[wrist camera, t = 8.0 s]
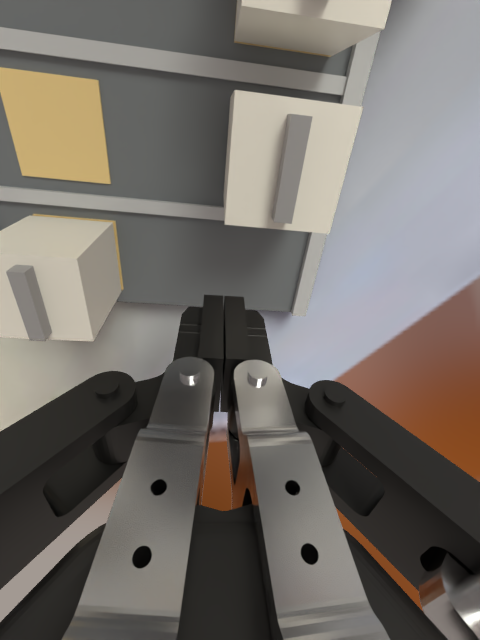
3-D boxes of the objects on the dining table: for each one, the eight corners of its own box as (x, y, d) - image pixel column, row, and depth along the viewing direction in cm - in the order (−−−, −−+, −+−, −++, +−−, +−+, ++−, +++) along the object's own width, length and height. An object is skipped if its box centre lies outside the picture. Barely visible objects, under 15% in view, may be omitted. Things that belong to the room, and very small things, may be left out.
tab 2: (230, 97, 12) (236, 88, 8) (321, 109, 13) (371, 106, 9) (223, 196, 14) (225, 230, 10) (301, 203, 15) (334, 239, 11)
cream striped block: (29, 215, 14) (-50, 257, 10) (112, 222, 15) (70, 265, 11) (48, 286, 17) (-11, 346, 12) (121, 291, 17) (88, 350, 13)
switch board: (-140, -212, 9) (-214, -280, 8) (395, -100, 11) (424, -137, 9) (20, 282, 18) (1, 298, 17) (298, 300, 20) (305, 316, 18)
